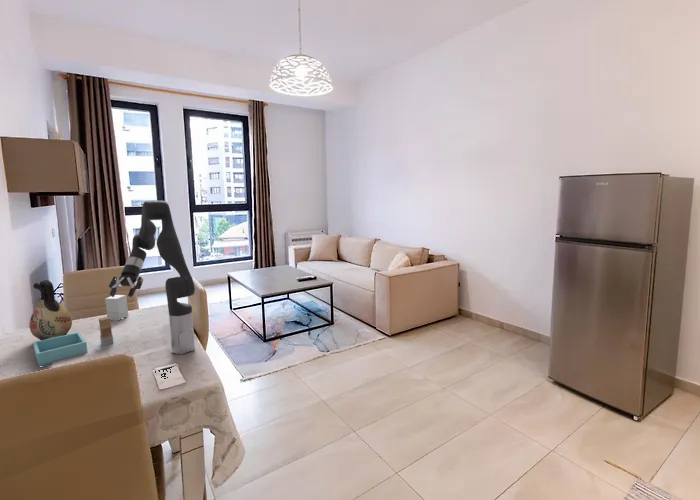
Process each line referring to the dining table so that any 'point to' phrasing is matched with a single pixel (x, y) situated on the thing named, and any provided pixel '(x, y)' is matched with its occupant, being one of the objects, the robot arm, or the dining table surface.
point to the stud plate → (99, 346)
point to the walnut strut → (105, 331)
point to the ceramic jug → (49, 314)
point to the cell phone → (165, 369)
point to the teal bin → (62, 352)
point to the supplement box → (116, 307)
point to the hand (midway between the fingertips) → (120, 296)
